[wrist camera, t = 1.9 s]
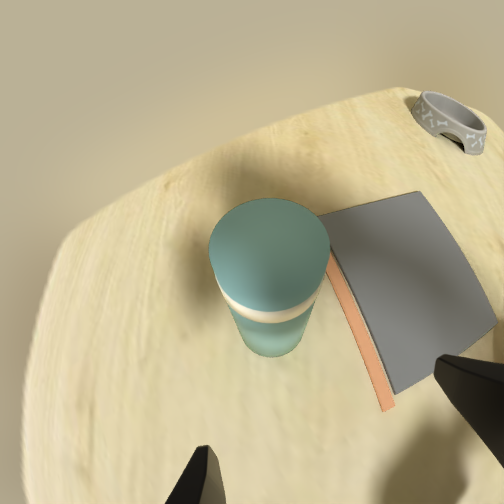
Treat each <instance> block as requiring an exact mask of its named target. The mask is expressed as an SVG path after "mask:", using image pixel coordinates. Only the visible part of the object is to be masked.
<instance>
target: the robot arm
mask: <svg viewBox="0 0 504 504" xmlns="http://www.w3.org/2000/svg"><path fill="white" fill-rule="evenodd" d="M434 377H435V379H436V381H437V382H438V384H439V385H440V387H441V388H442V389H443V391H444V392H445V394H446V395H447V397H448V398H449V400H450V401H451V403H452V404H453V405H454V406H455V408H456V409H457V410H458V411H459V412H460V414H461V415H462V416H463V417H464V418H465V419H466V421H467V422H468V423H469V424H470V426H471V427H472V428H473V429H474V430H475V432H476V433H477V434H478V435H479V437H480V438H481V439H482V440H483V442H484V443H485V444H486V446H487V447H488V448H489V449H490V451H491V452H492V453H493V455H494V456H495V457H496V458H497V460H498V461H499V463H500V464H501V465H502V467H503V468H504V364H500V363H494V362H488V361H482V360H476V359H470V358H465V357H459V356H454V355H449V354H443V355H441V356H439V357H438V358H437V359H436V361H435V367H434ZM165 504H226V498H225V491H224V486H223V481H222V477H221V472H220V467H219V462H218V458H217V456H216V455H215V453H214V452H213V450H212V449H211V447H210V446H209V445H203V446H198V447H197V448H196V450H195V452H194V453H193V455H192V457H191V459H190V461H189V462H188V464H187V466H186V468H185V469H184V471H183V473H182V475H181V477H180V478H179V480H178V482H177V483H176V485H175V487H174V489H173V490H172V492H171V494H170V495H169V497H168V499H167V501H166V502H165Z"/></svg>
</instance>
